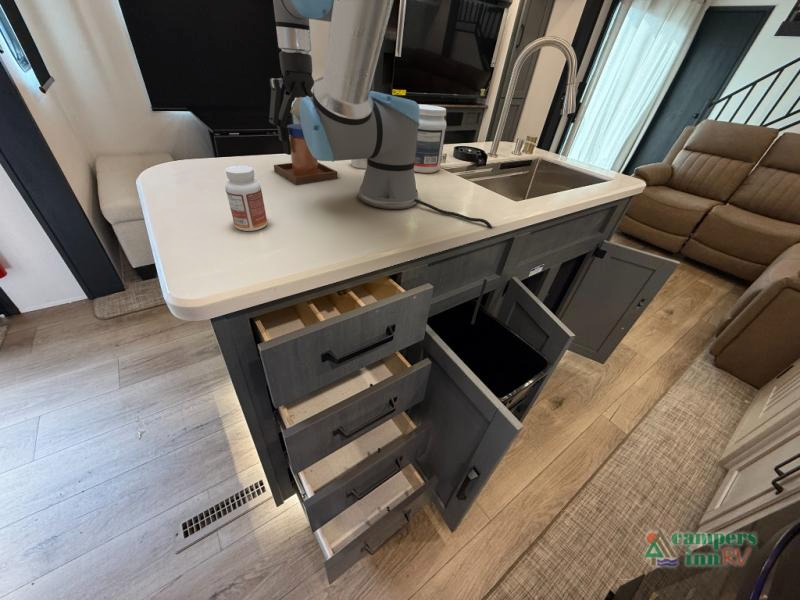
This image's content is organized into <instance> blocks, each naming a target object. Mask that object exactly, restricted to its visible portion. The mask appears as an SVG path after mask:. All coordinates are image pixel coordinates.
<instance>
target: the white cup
mask: <svg viewBox="0 0 800 600" xmlns="http://www.w3.org/2000/svg"><path fill="white" fill-rule="evenodd" d="M350 162H351V166H352V167H353V168H356V169H362V170H363V169H365V170H366V168H367V159H354V160H351V161H350Z"/></svg>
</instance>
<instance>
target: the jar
mask: <svg viewBox="0 0 800 600" xmlns="http://www.w3.org/2000/svg"><path fill="white" fill-rule="evenodd" d="M289 140H290V149H291V155H290V160H291V163H292V170H293V174H294V175H296V176H305V175H312V174H318V162H319V160H317V159H315V158H314V157H313V156H312V154H311V153H310V151H309V149H308V146H307V144H306V141H305V138H304V137H295V136H291V135H289Z"/></svg>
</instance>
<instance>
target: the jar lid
mask: <svg viewBox="0 0 800 600" xmlns="http://www.w3.org/2000/svg"><path fill="white" fill-rule="evenodd" d="M286 127H287V128H288V131H289V135H291V136H295V137H304V134H303V130H302V126H301V123H293V124H291V123H290V124H287V125H286Z"/></svg>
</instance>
